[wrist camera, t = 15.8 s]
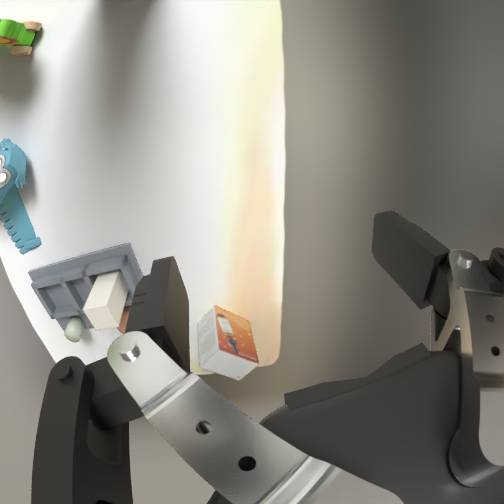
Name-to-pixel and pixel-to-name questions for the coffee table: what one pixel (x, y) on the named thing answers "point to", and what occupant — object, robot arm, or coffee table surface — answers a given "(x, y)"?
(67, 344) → the coffee table surface
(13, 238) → the blue yellow plastic figure
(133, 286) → the grey compartment tray
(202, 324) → the small box
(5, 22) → the toy lion
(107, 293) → the plug
